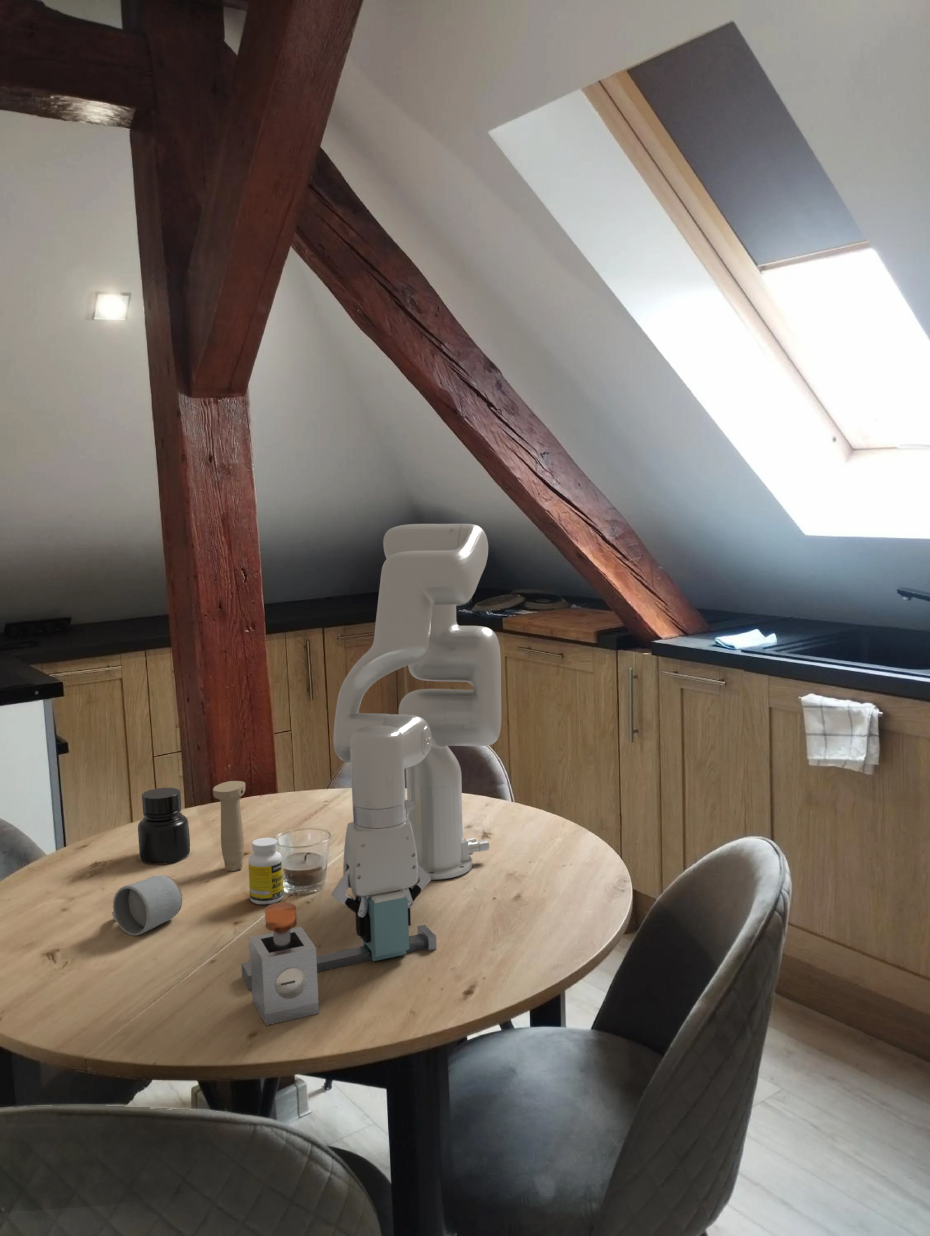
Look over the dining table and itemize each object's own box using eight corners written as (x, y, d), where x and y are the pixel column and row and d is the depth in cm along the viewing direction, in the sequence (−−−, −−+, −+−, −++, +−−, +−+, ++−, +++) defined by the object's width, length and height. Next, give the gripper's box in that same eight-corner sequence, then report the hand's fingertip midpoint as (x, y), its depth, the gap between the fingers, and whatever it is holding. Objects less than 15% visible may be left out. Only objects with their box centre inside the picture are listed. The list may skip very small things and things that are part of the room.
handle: (212, 874, 189) (207, 790, 187) (231, 861, 195) (226, 780, 193) (237, 876, 187) (232, 792, 185) (255, 863, 193) (250, 782, 191)
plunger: (294, 957, 144) (291, 900, 142) (302, 970, 140) (299, 911, 139) (264, 964, 142) (261, 905, 141) (272, 976, 138) (268, 917, 137)
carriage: (392, 938, 161) (390, 878, 159) (409, 957, 154) (407, 895, 153) (360, 945, 159) (357, 884, 157) (376, 964, 152) (373, 902, 151)
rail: (425, 937, 162) (424, 924, 161) (436, 949, 158) (436, 936, 157) (242, 976, 151) (241, 963, 150) (249, 990, 147) (248, 976, 146)
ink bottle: (200, 849, 201) (196, 786, 200) (179, 866, 193) (175, 801, 191) (151, 847, 203) (147, 785, 201) (129, 864, 194) (124, 799, 193)
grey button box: (304, 990, 146) (301, 926, 145) (319, 1014, 140) (316, 948, 138) (252, 1001, 143) (249, 937, 142) (266, 1027, 137) (262, 960, 136)
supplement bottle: (276, 906, 174) (273, 848, 173) (245, 904, 175) (241, 846, 174) (288, 893, 179) (285, 836, 178) (257, 891, 181) (254, 835, 179)
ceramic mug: (187, 920, 170) (184, 873, 169) (149, 940, 163) (145, 891, 162) (138, 909, 175) (135, 863, 174) (99, 928, 168) (95, 880, 167)
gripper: (425, 797, 160) (428, 914, 163) (313, 815, 154) (319, 937, 156) (445, 812, 154) (448, 933, 156) (329, 831, 147) (334, 958, 149)
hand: (383, 934), depth 156 cm, fingers closed on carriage, 5 cm apart
